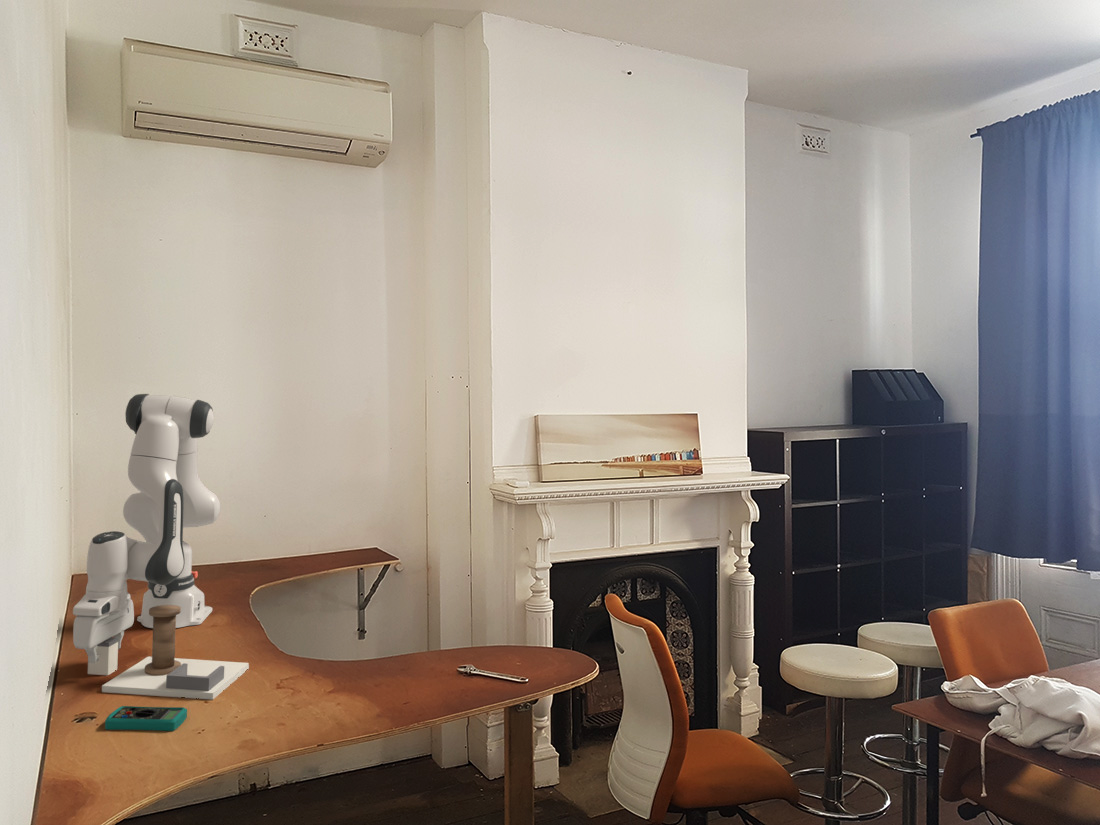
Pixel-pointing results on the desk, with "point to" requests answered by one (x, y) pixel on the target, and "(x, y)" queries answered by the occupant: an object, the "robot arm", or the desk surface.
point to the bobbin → (163, 640)
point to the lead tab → (105, 658)
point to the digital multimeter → (146, 718)
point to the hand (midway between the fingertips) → (104, 655)
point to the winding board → (178, 679)
